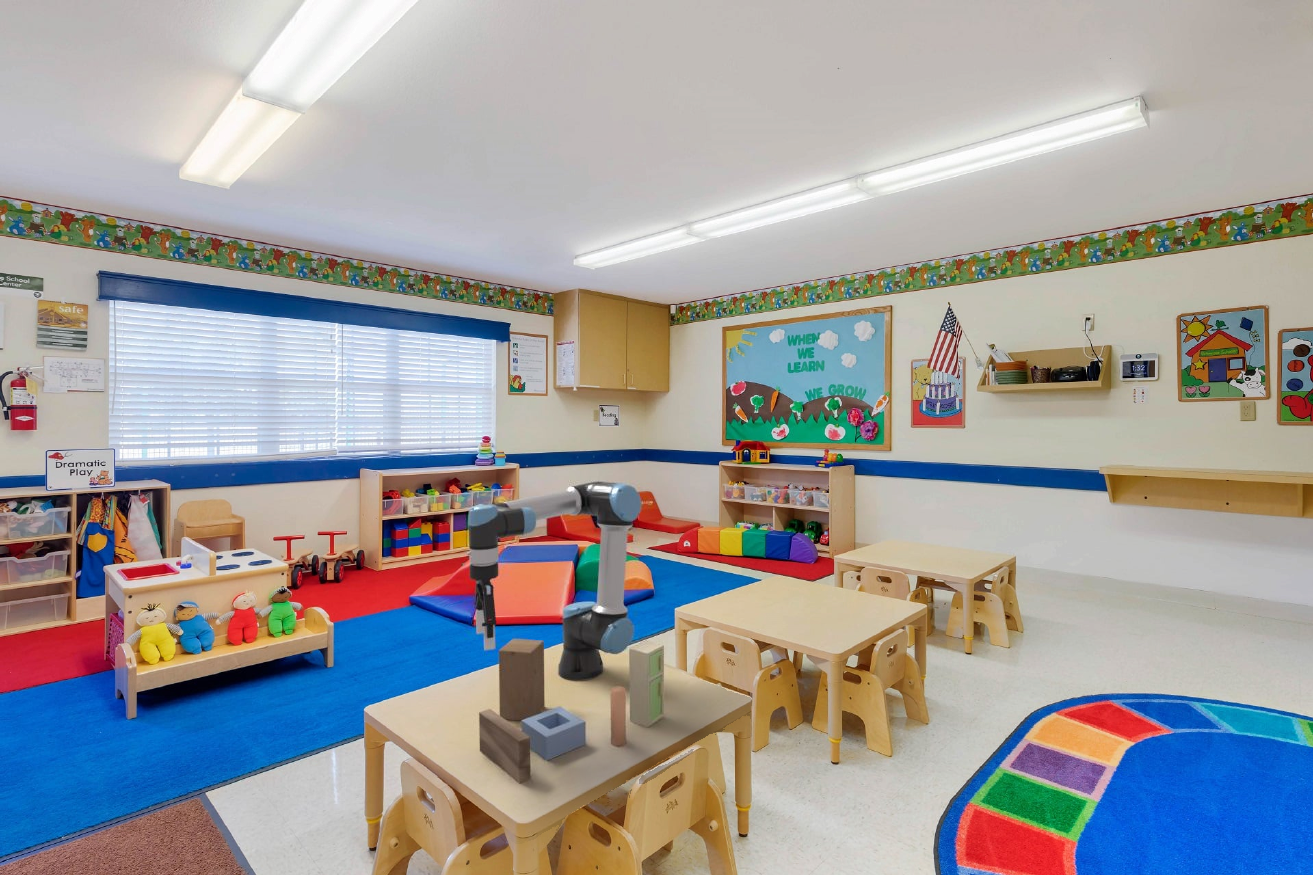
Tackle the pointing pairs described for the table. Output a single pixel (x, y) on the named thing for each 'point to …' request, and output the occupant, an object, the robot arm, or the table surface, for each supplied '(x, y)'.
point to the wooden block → (521, 679)
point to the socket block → (554, 732)
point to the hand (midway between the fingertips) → (485, 640)
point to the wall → (505, 745)
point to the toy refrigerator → (646, 683)
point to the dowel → (618, 716)
